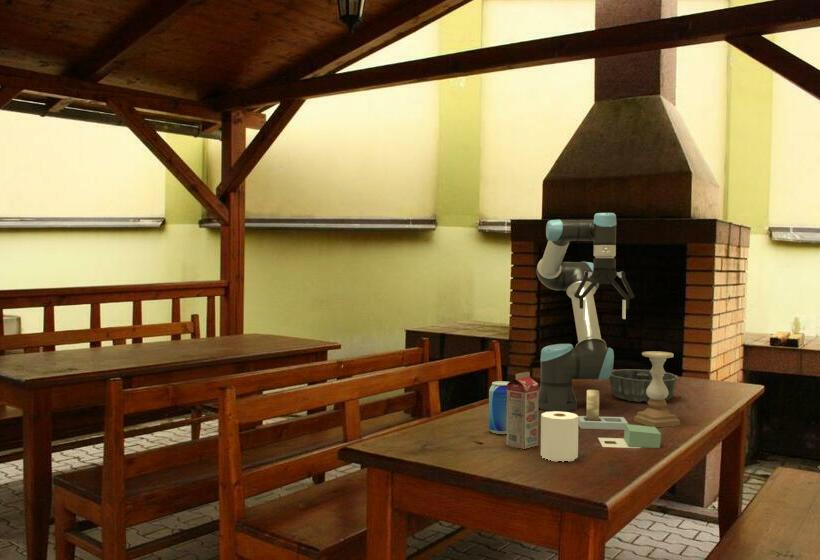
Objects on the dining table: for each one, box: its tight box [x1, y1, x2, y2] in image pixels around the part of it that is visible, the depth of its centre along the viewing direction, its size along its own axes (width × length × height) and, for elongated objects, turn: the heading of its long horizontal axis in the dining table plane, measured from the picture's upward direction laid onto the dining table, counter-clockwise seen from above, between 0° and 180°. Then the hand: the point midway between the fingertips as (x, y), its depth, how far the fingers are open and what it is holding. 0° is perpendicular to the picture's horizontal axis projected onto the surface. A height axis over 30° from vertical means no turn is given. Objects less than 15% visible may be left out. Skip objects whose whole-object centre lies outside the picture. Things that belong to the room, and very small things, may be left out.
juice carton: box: [506, 371, 540, 449], centre depth 226 cm, size 7×7×22 cm
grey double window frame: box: [577, 415, 629, 431], centre depth 251 cm, size 15×9×2 cm, turn 83°
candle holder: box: [633, 350, 681, 429], centre depth 256 cm, size 11×11×24 cm
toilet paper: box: [540, 411, 579, 463], centre depth 214 cm, size 10×10×12 cm
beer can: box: [488, 380, 510, 435], centre depth 243 cm, size 8×8×16 cm
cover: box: [623, 423, 662, 449], centre depth 228 cm, size 9×9×4 cm
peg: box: [585, 389, 600, 421], centre depth 251 cm, size 4×4×12 cm
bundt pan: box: [609, 368, 679, 404], centre depth 299 cm, size 26×26×10 cm
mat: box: [597, 437, 642, 449], centre depth 229 cm, size 11×11×1 cm
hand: (603, 318), depth 264 cm, fingers open, 13 cm apart
